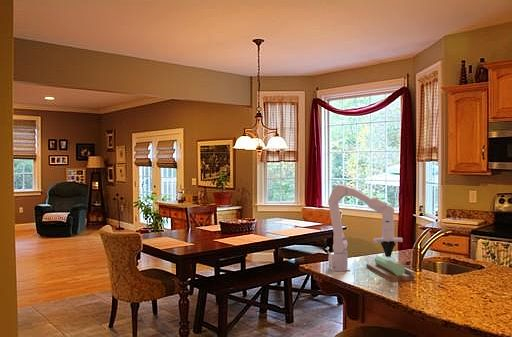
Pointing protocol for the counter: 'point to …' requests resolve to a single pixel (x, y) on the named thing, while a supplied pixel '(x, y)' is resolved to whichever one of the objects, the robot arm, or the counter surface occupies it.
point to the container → (390, 265)
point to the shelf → (391, 273)
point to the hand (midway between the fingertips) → (388, 256)
